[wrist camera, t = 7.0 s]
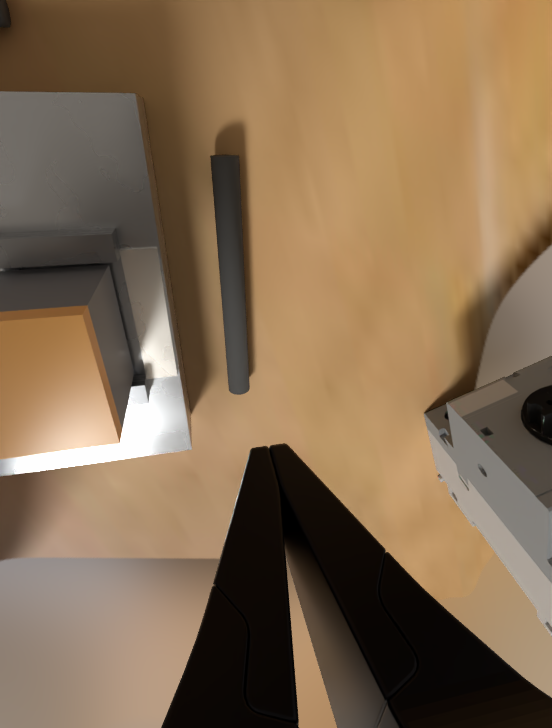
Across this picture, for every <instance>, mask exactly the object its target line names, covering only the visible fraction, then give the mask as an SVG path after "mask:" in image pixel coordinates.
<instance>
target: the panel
mask: <svg viewBox="0 0 552 728" xmlns="http://www.w3.org/2000/svg"><path fill="white" fill-rule="evenodd" d="M98 265H109V267H110V272H111V276H112V280H113V284H114V289H115V293H116V297H117V302H118V306H119V310H120V314H121V319H122V323H123V327H124V332H125V336H126V340H127V344H128V349H129V353H130V357H131V362H132V366H133V370H134V375H133V380H132V385H131V390H130V395H129V400H128V405H127V410H126V415H125V420H124V425H123V430H122V435H121V440H120V444H113V445H105V446H98V447H90V448H83V449H75V450H68V451H60V452H53V453H45V454H38V455H30V456H23V457H15V458H8V459H0V476H6V475H14V474H21V473H28V472H35V471H42V470H49V469H56V468H64V467H71V466H78V465H85V464H92V463H99V462H106V461H113V460H121V459H128V458H135V457H142V456H149V455H156V454H163V453H171V452H178V451H185V450H192V439H191V412H190V405H189V399H188V392H187V386H186V379H185V372H184V366H183V359H182V352H181V346H180V339H179V332H178V326H177V319H176V312H175V306H174V299H173V292H172V286H171V279H170V272H169V266H168V259H167V253H166V246H165V239H164V233H163V226H162V219H161V213H160V206H159V199H158V193H157V186H156V179H155V173H154V166H153V159H152V153H151V146H150V139H149V133H148V126H147V120H146V113H145V106H144V100H143V98H142V97H141V96H139V95H137V94H136V93H83V92H5V91H0V271H12V270H29V269H47V268H64V267H81V266H98Z"/></svg>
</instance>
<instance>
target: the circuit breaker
mask: <svg viewBox="0 0 552 728" xmlns="http://www.w3.org/2000/svg"><path fill="white" fill-rule="evenodd" d="M424 416H425V421H426V425H427V430H428V434H429V439H430V443H431V448H432V452H433V457H434V461H435V466H436V470H437V471H438V472H439V474H440V475H438V479H439V480H440V482H443V481H445V482H446V483H447V486H448V491H449V494H450V496H451V497H452V498H453V500H454V501H455V503H456V504H457V505H458V507H459V508H460V509H461V511H462V512H463V514H464V515H465V516H466V518H467V519H468V521H469V522H470V523H471V525H472V526H476V527H477V528H478V529H479V531H480V532H481V534H482V535H483V536H484V538H485V539H486V540H487V542H488V543H489V545H490V546H491V547H492V549H493V550H494V551H495V553H496V554H497V556H498V557H499V558H500V560H501V561H502V562H503V564H504V565H505V567H506V568H507V569H508V571H509V572H510V573H511V575H512V576H513V577H514V579H515V580H516V582H517V583H518V584H519V586H520V587H521V589H522V590H523V591H524V593H525V594H526V595H527V596H528V598H529V599H530V601H531V602H532V604H533V605H534V606H535V608H536V609H537V617H538V618H539V620H540V621H541V622H542V623H543V625H544V626H545V628H546V629H547V631H548V632H549V633H550V635H551V636H552V627H551V626H552V356H550V357H548V358H546V359H543V360H541V361H539V362H537V363H534V364H532V365H530V366H528V367H525V368H523V369H521V370H519V371H516V372H514V373H513V374H512V375H510V376H508V377H506V378H505V377H503V378H500V379H498V380H496V381H494V382H492V383H490V384H487V385H485V386H483V387H480V388H478V389H476V390H473V391H471V392H469V393H467V394H464V395H462V396H460V397H458V398H455V399H453V400H451V401H449V402H446V404H445V405H442V406H440V407H438V408H436V409H433V410H431V411H429V412H427V413H424ZM550 625H551V626H550Z"/></svg>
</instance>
